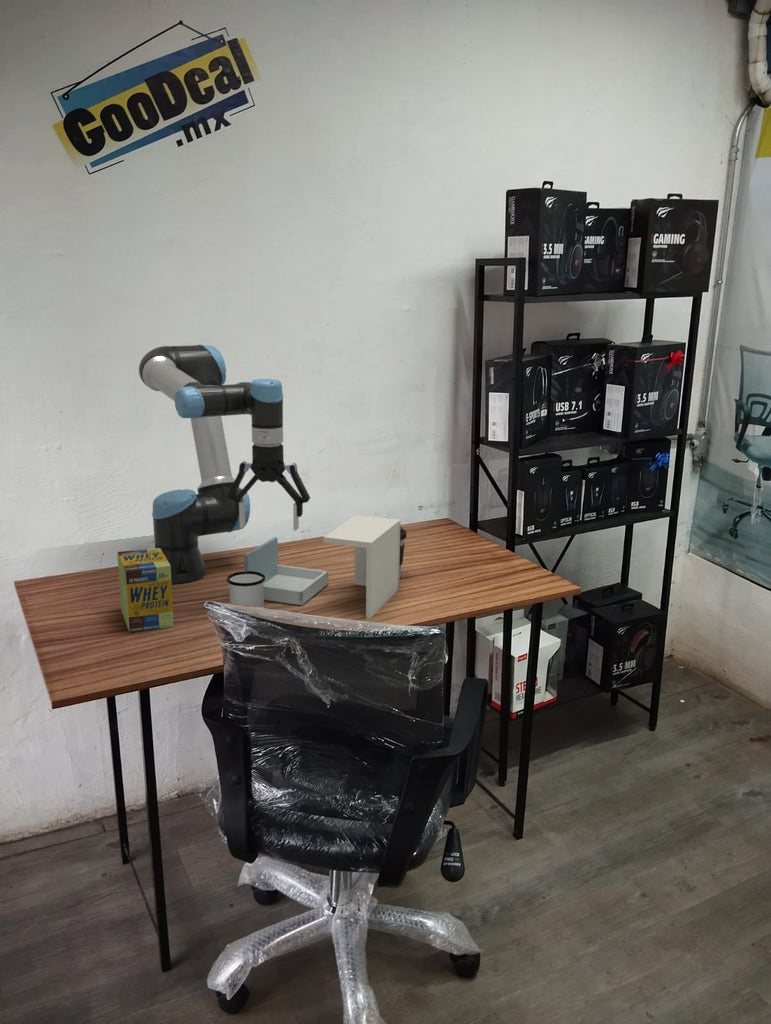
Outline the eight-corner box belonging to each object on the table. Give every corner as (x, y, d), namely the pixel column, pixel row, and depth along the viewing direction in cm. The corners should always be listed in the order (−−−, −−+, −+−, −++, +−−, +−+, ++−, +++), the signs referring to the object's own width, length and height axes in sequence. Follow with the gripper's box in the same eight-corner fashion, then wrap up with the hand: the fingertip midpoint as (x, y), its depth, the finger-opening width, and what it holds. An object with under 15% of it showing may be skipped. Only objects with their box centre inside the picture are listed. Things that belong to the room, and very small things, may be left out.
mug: (269, 616, 208) (269, 581, 206) (231, 620, 205) (230, 585, 203) (260, 599, 219) (259, 566, 217) (223, 603, 216) (222, 569, 214)
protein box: (129, 633, 197) (124, 570, 193) (120, 610, 210) (116, 551, 206) (174, 627, 201) (171, 565, 197) (163, 604, 214) (160, 546, 210)
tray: (245, 596, 220) (244, 555, 217) (275, 576, 235) (274, 537, 232) (301, 605, 214) (301, 562, 212) (328, 583, 230) (327, 543, 227)
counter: (323, 611, 212) (323, 537, 207) (355, 583, 232) (356, 514, 227) (370, 618, 208) (371, 542, 203) (399, 589, 228) (400, 519, 223)
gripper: (212, 444, 203) (216, 529, 209) (315, 448, 201) (315, 534, 206) (221, 439, 210) (224, 521, 216) (321, 442, 208) (321, 525, 213)
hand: (269, 527), depth 211 cm, fingers open, 13 cm apart
